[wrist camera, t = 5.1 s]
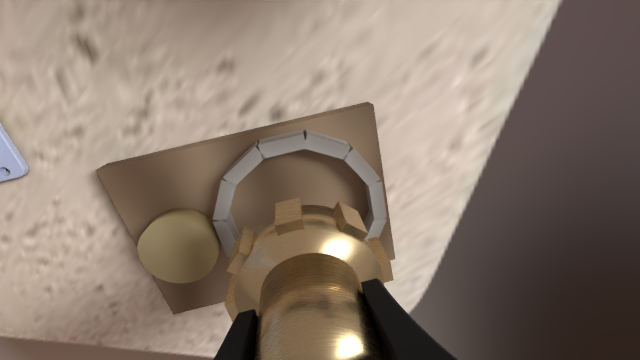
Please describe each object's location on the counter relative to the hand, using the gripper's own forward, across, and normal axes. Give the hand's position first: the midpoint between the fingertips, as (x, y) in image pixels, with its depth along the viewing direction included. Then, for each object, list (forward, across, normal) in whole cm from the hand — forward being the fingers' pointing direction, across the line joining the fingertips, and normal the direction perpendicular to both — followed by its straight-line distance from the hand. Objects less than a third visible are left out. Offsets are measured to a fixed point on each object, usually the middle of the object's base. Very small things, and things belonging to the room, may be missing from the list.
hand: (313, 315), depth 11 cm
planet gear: (+3, 0, 0) cm, 3 cm away
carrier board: (+10, +2, 0) cm, 10 cm away
